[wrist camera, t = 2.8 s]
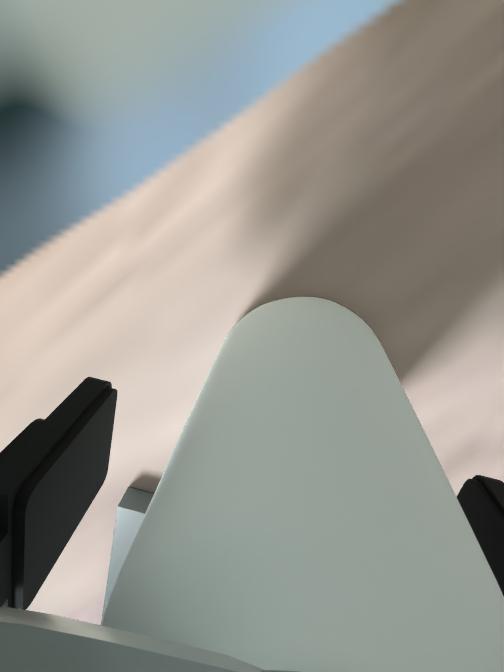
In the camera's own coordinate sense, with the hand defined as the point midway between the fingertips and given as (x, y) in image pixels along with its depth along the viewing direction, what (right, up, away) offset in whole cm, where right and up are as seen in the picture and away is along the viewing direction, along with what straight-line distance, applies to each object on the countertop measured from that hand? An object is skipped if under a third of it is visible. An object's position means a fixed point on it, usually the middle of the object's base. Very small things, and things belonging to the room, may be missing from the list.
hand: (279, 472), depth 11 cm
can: (+1, +2, +5) cm, 6 cm away
